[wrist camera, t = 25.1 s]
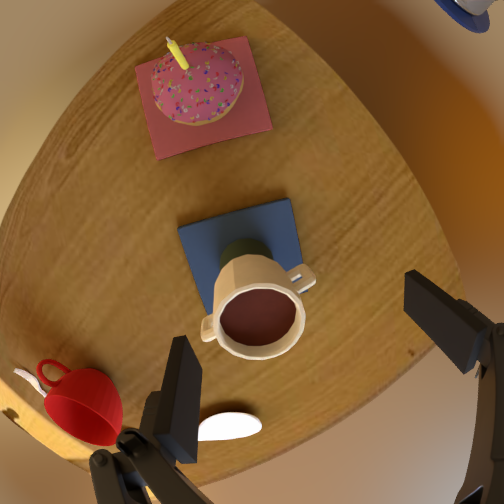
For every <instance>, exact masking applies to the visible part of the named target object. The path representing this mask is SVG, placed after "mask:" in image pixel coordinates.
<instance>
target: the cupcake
mask: <svg viewBox="0 0 504 504" xmlns="http://www.w3.org/2000/svg"><path fill="white" fill-rule="evenodd" d="M166 40H167V41H168V43H167V46H168V48H169V49H170V51H171V52H168V53H167V54H166V55H164V56H165V57H164V56H163V58H161V60H160V61H159V63H158V64H155V67H156V68H154V69H155V70H154V69H153V71H154V72H153V74H152V75H151V77H152V78H151V80H152V90H153V98H154V100H155V103H156V105H157V107H158V108H159V109H160V110H161V111H162V112H163V114H164V115H166V116H167V117H169V118H170V119H171V120H173V121H175V122H178V123H182V124H187V125H192V126H200V125H204V124H208V123H212V122H215V121H217V120H219V119H221V118H222V117H223V116H225V115H226V114H227V113H228V112H229V111H230V110H231V108H232V107H233V106H234V104H235V102H236V100H237V98H238V97H239V95H240V93H241V92H242V89H243V84H244V75H243V72H242V70H241V67H240V66H239V62H238V61H236V59H235V58H234V56H233V55H232V54H231V53H232V52H231V53H230V51H228V50H226V49H224V48H223V47H219V46H216V45H213V44H210V43H207V42H205V43H202V42H199V43H190V44H186V45H184V46H179V47H178V45H177V43H176V42H175V41H174V40H170V39H169V37H166Z"/></svg>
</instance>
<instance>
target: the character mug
mask: <svg viewBox="0 0 504 504" xmlns="http://www.w3.org/2000/svg"><path fill="white" fill-rule="evenodd" d="M219 269H220V274H219V276H218V278H217V280H216V282H215V286H214V304H213V313H212V314H210V315H208V316H207V317H205V318H204V319H203V321H202V325H201V338H202V340H203V341H205V342H208V341H211V340H213V339H215V338H217V340H218V342H219V344H220V345H221V346H222V347H223V348H225V349H226V350H227V351H229V352H230V353H231V354H233V355H236V356H239V357H242V358H245V359H251V360H264V359H269V358H273V357H276V356H279V355H281V354H283V353H284V352H286V351H288V350H289V349H290V348H291V347H292V346H293V345H294V344H295V343H296V342H297V341H298V339H299V337H300V336H301V334H302V332H303V330H304V324H305V318H306V315H305V311H304V308H303V304H302V301H301V298H300V296H299V293H301V292H303V291H305V290H306V289H308V288H310V287H311V286H313V285H314V284H315V283H316V276H315V274H314V273H313V272H312V270H311V269H310V268H309V266H307V265H306V264H300V265H298V266H296V267H295V268H293V269H291V270H289V271H288V272H286V271H285V270H284V269H283V268H282V267H281V266H280V265H279V264H278V262H275V261H274V259H273V255H272V252H271V250H270V249H269V248H268V247H267V246H266V245H265V244H264V243H263V242H260V241H257V240H255V239H252V238H246V239H238V240H236V241H234V242H233V243H231V244H229V245H227V247H226V248H225V250H224V252H223V253H222V255H221V257H220V266H219ZM301 276H302V278H301V279H300V280H298V281H296V282H294V283H292V281H294V280H295V279H297V278H299V277H301ZM212 326H213V327H212Z"/></svg>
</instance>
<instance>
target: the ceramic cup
mask: <svg viewBox="0 0 504 504" xmlns="http://www.w3.org/2000/svg"><path fill="white" fill-rule="evenodd" d="M44 364H51V365H53V366H55V367H57V368H59V369H60V370H62V371H63V372H64V373H65V375H63V376H62V377H61V378H60V379H59V380H58V381H55V382H54V381H50V380H48V379H47V378H46V377H45V376H44V375H43V372H42V366H43V365H44ZM36 371H37V375H38V377H39V379H40V380H41V381H42V382H43V383H44V384H46V385H48V386H50V387H52V388H51V390H50V391H49V393H48V394H47V396H46V397H45V399H44V406H45V409H46V411H47V413H48V414H49V416H50V417H51V418H52V419H53V421H54V422H55V423H56V424H57V425H58V426H60V427H61V428H62V429H63V430H65V431H66V432H68V433H69V434H71V435H72V436H74V437H76V438H78V439H80V440H82V441H84V442H87V443H90V444H94V445H99V446H111V445H114V444H115V443H116V438H117V436H118V435H119V434H120V431H121V426H122V418H123V410H122V403H121V399H120V396H119V394H118V391H117V389H116V388H115V386H114V384H113V382H112V381H111V379H110V378H109V377H108V376H107V375H105V374H104V373H102V372H101V371H98V370H96V369H92V368H86V369H77V370H73V371H71V370H70V369H68V368H67V367H65V366H64V365H62V364H61V363H59V362H57V361H55V360H52V359H45V360H42V361H40V362H39V363H38V365H37V369H36Z"/></svg>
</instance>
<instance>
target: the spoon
mask: <svg viewBox="0 0 504 504" xmlns="http://www.w3.org/2000/svg"><path fill="white" fill-rule="evenodd" d="M261 428H262V424H261V422H260V420H259V419H258V418H257V417H255V416H253V415H251V414H247V413H241V412H226V413H220V414H217V415H214V416H211V417H209V418H207V419H206V420H204V421H203V422H202V423H201V424H200V425H199V429H198V441H202V440H226V439H234V438H240V437H245V436H249V435H252V434H255V433H257V432H258V431H260V429H261Z"/></svg>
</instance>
